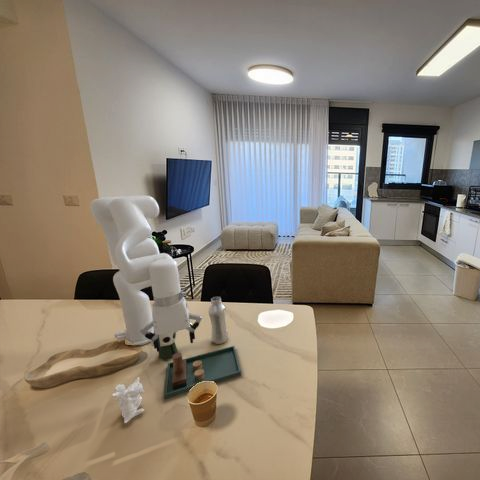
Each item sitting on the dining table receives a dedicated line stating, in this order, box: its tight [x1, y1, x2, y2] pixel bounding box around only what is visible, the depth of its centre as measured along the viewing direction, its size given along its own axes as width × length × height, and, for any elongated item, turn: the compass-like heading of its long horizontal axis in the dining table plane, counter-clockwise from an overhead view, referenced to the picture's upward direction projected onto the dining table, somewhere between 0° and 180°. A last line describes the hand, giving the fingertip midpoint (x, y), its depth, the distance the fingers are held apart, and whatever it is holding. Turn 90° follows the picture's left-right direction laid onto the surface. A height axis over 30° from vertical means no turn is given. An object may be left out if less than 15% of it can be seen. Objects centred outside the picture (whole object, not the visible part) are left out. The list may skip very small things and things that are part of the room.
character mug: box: [150, 329, 179, 361], centre depth 99 cm, size 11×7×13 cm, turn 155°
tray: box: [164, 345, 242, 400], centre depth 93 cm, size 23×15×2 cm, turn 116°
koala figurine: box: [110, 376, 145, 424], centre depth 75 cm, size 8×7×12 cm
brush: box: [171, 352, 187, 390], centre depth 89 cm, size 4×10×9 cm, turn 26°
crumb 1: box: [193, 360, 202, 371], centre depth 94 cm, size 3×3×2 cm
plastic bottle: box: [208, 296, 229, 345], centre depth 107 cm, size 6×7×20 cm
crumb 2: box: [194, 369, 204, 380], centre depth 90 cm, size 3×3×2 cm
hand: (175, 345), depth 86 cm, fingers open, 9 cm apart
